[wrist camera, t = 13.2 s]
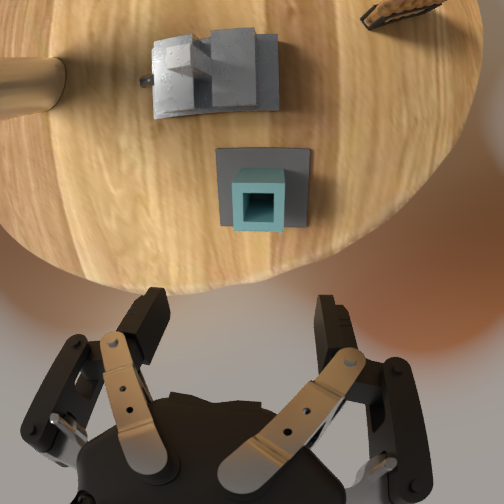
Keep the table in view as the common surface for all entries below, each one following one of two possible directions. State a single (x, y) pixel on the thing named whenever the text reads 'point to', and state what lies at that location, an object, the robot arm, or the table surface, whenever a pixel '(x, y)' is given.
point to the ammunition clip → (397, 11)
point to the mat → (275, 158)
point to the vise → (214, 73)
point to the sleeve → (258, 211)
